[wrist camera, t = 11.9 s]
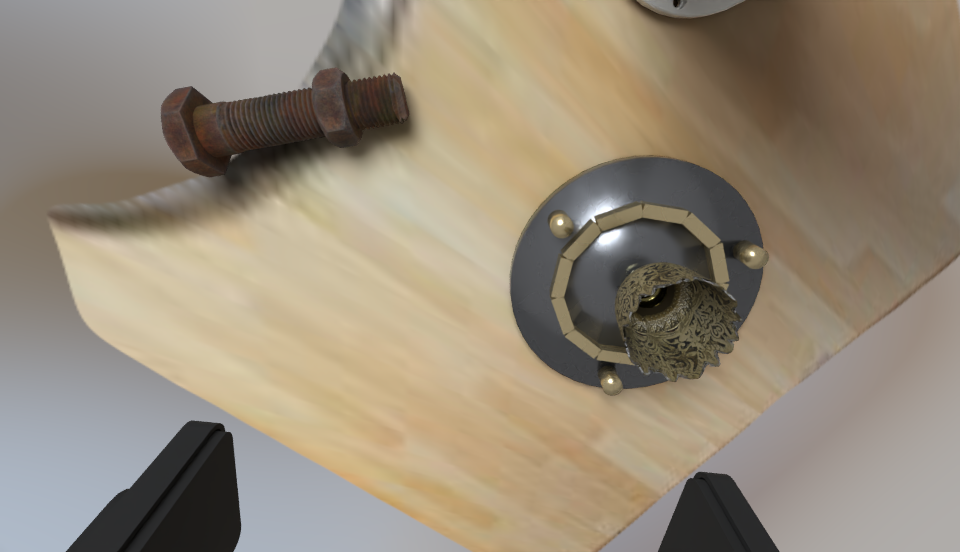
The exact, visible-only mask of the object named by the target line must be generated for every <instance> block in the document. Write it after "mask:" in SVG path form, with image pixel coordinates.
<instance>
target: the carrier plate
mask: <svg viewBox="0 0 960 552" xmlns="http://www.w3.org/2000/svg"><path fill="white" fill-rule="evenodd" d="M768 258H769V255H768V253H767V251H766V250H764V249H763V243H762V238H761V234H760V229H759V227H758V224H757V222H756V219H755V217H754V214H753V213H752V211H751V209H750V208H749V206H748V204H747V203H746V201H745V200H744V199H743V198H742V196H741V195H740V194H739V193H738V192H737V190H736V189H735V188H733V187H732V186H731V185H730V184H729V183H727V182H726V181H725V180H724V179H723V178H721V177H719V176H718V175H716V174H714V173H713V172H711V171H709V170H707V169H705V168H702V167H700V166H697V165H695V164H692V163H690V162H687V161H683V160H679V159H675V158H671V157H663V156H654V155H649V156H632V157H626V158H620V159H615V160H612V161H608V162H605V163H602V164H599V165H597V166H594V167H592V168H590V169H588V170H585V171H583V172H581V173H580V174H578V175H576V176H575V177H573V178H571V179H570V180H568V181H567V182H565V183H564V184H563V185H561V186H560V187H559V188H558V189H556V190H555V191H554V192H553V193H552V194H551V195H550V196H549V197H548V198H547V199H546V200H545V201H544V202H543V203H542V204H541V205H540V206H539V207H538V209H537V210H536V211H535V212H534V214H533V215H532V216H531V218H530V219H529V221H528V223H527V224H526V226H525V228H524V229H523V231H522V233H521V236H520V238H519V240H518V243H517V245H516V248H515V252H514V255H513V259H512V264H511V271H510V294H511V301H512V307H513V312H514V316H515V319H516V322H517V325H518V327H519V329H520V331H521V333H522V335H523V337H524V339H525V340H526V342H527V343H528V345H529V346H530V348H531V349H532V350H533V351H534V352H535V353H536V355H537V356H538V357H539V358H540V359H541V360H542V361H544V362H545V363H546V364H547V365H548V366H550V367H551V368H552V369H554V370H556V371H557V372H559V373H560V374H562V375H564V376H566V377H568V378H570V379H573V380H575V381H578V382H581V383H584V384H587V385H591V386H597V387H602V388H603V390H604V392H605V393H606V394H608V395H617V394H619V393H620V392H621V391H622V389H629V388H639V387H646V386H650V385H655V384H659V383H662V382H665V381H668V380H667V379H666V377H665V376H664V375H663V374H662V373H654V372H652V371H651V370H650V374H649V375H647V376H646V375H644V374H643V373H642V372H641V371H640V370H639V368H638V366H636V365H634V364H633V363H632V362H631V361H630V359H629V357H628V354H627V351H626V348H625V345H624V342H623V339H622V336H621V333H620V330H619V327H618V324H617V320H616V315H615V299H616V295H617V292H618V289H619V287H620V285H621V284H622V282H623V281H624V280H625V278H626V277H627V276H628V274H629V273H630V272H632V271H633V270H635V269H637V268H639V267H642V266H644V265H647V264H651V263H659V262H667V263H673V264H677V265H681V266H683V267H686V268H688V269H690V270H692V271H694V272H696V273H698V274H700V275H702V276H703V277H705V278H707V279H709V280H710V281H712V282H714V283H716V284H718V285H720V286H722V287H724V289H725V290H726V291H728V292H729V293H730V294H731V295H732V296H733V297H734V298H735V299H736V300H737V305H738V307H736V309H735V311H736V312H737V313H738V314H739V316H740V317H741V319H742V322H733V323H734V324H735V325H736V327H737V328H736V331H738V330H739V328H740V327H741V325H742V324H743V322H744V321H745V319H746V318H747V316H748V314H749V312H750V310H751V308H752V306H753V304H754V302H755V299H756V297H757V294H758V291H759V288H760V283H761V279H762V274H763V266H764V265H765V264H766V263H767V261H768ZM678 377H679V376H678Z"/></svg>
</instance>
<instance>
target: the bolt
mask: <svg viewBox="0 0 960 552" xmlns="http://www.w3.org/2000/svg"><path fill="white" fill-rule="evenodd" d="M408 116H409V110H408V107H407V102H406V98H405V93H404V89H403V85H402V82H401V77H399V76H398V75H396V74H395V73H393V75H392V76H391V75H390V74H389V73H388V76H386V75H383V77H381V76H380V75H379V76H378V78H376V77H375V76H374V77H373V79H371V78H370V77H369V78H368V79H367V80H366V79H365V78H363V80H362V81H361V80H360V79H358V81H356V80H353V82H351V81H350V79H349V78H348V76H347V75H346V74H345V73H344V72H342V71H341V70H339V69H338V68H331V69H325V70H320V71H319V72H318V73H317V74H316V76H315V77H314V79H313V82H312V89H311V88H308V89H305V88H304V89H303V90H300V89H299V90H298V91H296V90H293V91H292V92H291V91H288V92H287V93H285V92H283V93H282V94H281V93H278V94H273V95H268V96H264V97H258V98H253V99H252V98H249V99H244V100H238V101H233V102H218V103H212V102H211V101H209V100H208V99H207V98H206V97H204V96H203V95H202V94H201V93H199V92H198V91H197V90H196V89H195V88H193V87H192V86H190V87H185V88H179V89H175V90H174V91H173V92H172V93H171V94H169V95H168V96H167V98H166V99H165V100H164V102H163V103H162V105H161V122H162V129H163V134H164V137H165V140H166V142H167V144H168V146H169V147H170V149H171V150H172V152H173V153H174V154H175V156H176V157H177V159H178V160H179V161H180V162H181V163H182V165H183V166H184V167H185V168H186V169H188V170H190V171H192V172H194V173H196V174H199V175H202V176H206V177H214V176H220V175H225V173H226V170H227V167H228V164H229V161H230V158H231V156H232V155H234V154H239V153H242V152H244V151H249V150H254V149H259V148H265V147H269V146H275V145H283V144H288V143H293V142H298V141H303V140H305V141H306V140H308V139H310V140H311V139H313V138H315V139H316V138H318V137H319V138H321V137H322V136H323V137H326V138H327V139H328V140H329V142H330V143H332V144H334V145H335V146H338V147H340V148H344V147H350V146H355V145H357V144H358V142H359V141H360V139H361V138H362V134H363V130H365V129H366V128H367V129H370V127H372V128H374V127H375V126H376V127H379V125H381V126H382V127H384V124H385V125H387V126H389V123H390V124H392V125H393V124H394V122H395V123H396V124H398V123H399V122H401V123H403V122H404V120H407V118H408Z"/></svg>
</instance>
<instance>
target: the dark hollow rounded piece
mask: <svg viewBox="0 0 960 552" xmlns="http://www.w3.org/2000/svg"><path fill="white" fill-rule="evenodd" d="M736 307H738V305H737V300H736V299H735V298H734V297H733V296H732V295H731V294H730V293H729V292H728V291H726V290H725V289H724V287H722V286H720V285H718V284H716V283H714V282H712V281H710V280H709V279H707V278H705V277H703V276H702V275H700V274H698V273H696V272H694V271H692V270H690V269H688V268H686V267H683V266H681V265H677V264H673V263H667V262H659V263H651V264H647V265H644V266H642V267H639V268H637V269H635V270H633V271H632V272H630V273H629V274H628V276H627V277H626V278H625V280H624V281H623V282H622V284H621V285H620V287H619V289H618V292H617V295H616V299H615V315H616V320H617V324H618V327H619V330H620V333H621V336H622V339H623V342H624V345H625V348H626V351H627V354H628V357H629V359H630V361H631V362H632V363H633V364H634V365H636V366H638V368H639V370H640V371H641V372H642V373H643V374H644V375H646V376H647V375H649V374H650V370H651V371H652V372H654V373H662V374H663V375H664V376H665V377H666V379H667V380H668V381H672V382H676V381H677V379H678V376H679V377H682V378H685V379H698V378H700V377H701V375H702V374H703V372H704V369H705V367H706V366H707V364H708V365H709V364H710V365H711V366H715V367H716V366H720V360H719V357H718V352H719V353H723V354H729V353H731V352H732V351H733V347H734V344H733V342H732V341H738V340H739V337H738V333H737V331H736V328H737V327H736V325H735V324H734V323H733V322H742V319H741V317H740V316H739V314H738V313H737V312H736V311H735V309H736Z"/></svg>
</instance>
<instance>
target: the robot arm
mask: <svg viewBox="0 0 960 552" xmlns="http://www.w3.org/2000/svg"><path fill="white" fill-rule="evenodd" d="M636 1H637V2H639V3H640V4H641V5H642V6H644V7H646V8H648V9H650V10H652V11H654V12H656V13H658V14H661V15H665V16H669V17H673V18H698V17H703V16H708V15H713V14H716V13H718V12H721V11H725V10H727V9H729V8H731V7H733V6H735V5H737V4H739V3H741V2H743V1H745V0H677V1H678V5H677V7H674V5H673V0H636ZM240 532H241V519H240V510H239V498H238V488H237V478H236V468H235V457H234V447H233V437H232V434H231V433H230V432H225V428H224V426H223V425H222V424H220V423H211V422H201V421H189V422H187V423H186V424H185V425H184V426H183V427H182V429H181V430H180V431H179V432H178V433H177V434H176V436H175V437H174V438H173V439H172V440H171V441H170V442H169V444H168V445H167V446H166V447H165V449H163V451H162V452H161V453H160V454H159V455H158V456H157V458H156V459H155V460H154V461H153V462H152V463H151V465H150V466H149V467H148V468H147V469H146V470H145V472H144V473H143V474H142V475H141V476H140V477H139V478H138V480H137V481H136V482H135V483H134V484H133V485H132V487H131V488H130V489H126V490H124V491H122V492H120V493H118V494H117V495H116V496H115V497H114V498H113V499H112V500H111V501H110V502H109V503H108V504H107V506H106V507H105V508H104V509H103V510H102V511H101V512H100V513H99V515H98V516H97V517H96V518H95V519H94V520H93V521H92V523H91V524H90V525H89V526H88V527H87V528H86V529H85V530H84V532H83V533H82V534H81V535H80V536H79V537H78V538H77V540H76V541H75V542H74V543H73V544H72V545H71V546H70V547H69V549H68V550H67V551H66V552H233V551H234V549H235V547H236V545H237V543H238V540H239V537H240ZM658 552H779V550H778V549H777V547H776V546H775V544H774V543H773V541H772V539H771V538H770V536H769V535H768V533H767V532H766V530H765V528H764V527H763V525H762V524H761V522H760V521H759V519H758V517H757V516H756V515H755V513H754V511H753V510H752V508H751V507H750V505H749V504H748V502H747V500H746V499H745V497H744V496H743V494H742V493H741V491H740V489H739V488H738V487H737V485H736V483H735V482H734V480H733V479H732V478H731V477H730V476H728V475H727V474H717V473H707V472H698V473H696V475H695V476H694V478H690V479H688V480H687V482H686V484H685V487H684V489H683V492H682V494H681V497H680V499H679V502H678V504H677V507H676V509H675V511H674V514H673V516H672V519H671V521H670V523H669V526H668V528H667V531H666V534H665V536H664V538H663V541H662V543H661V545H660V548H659V550H658Z"/></svg>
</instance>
